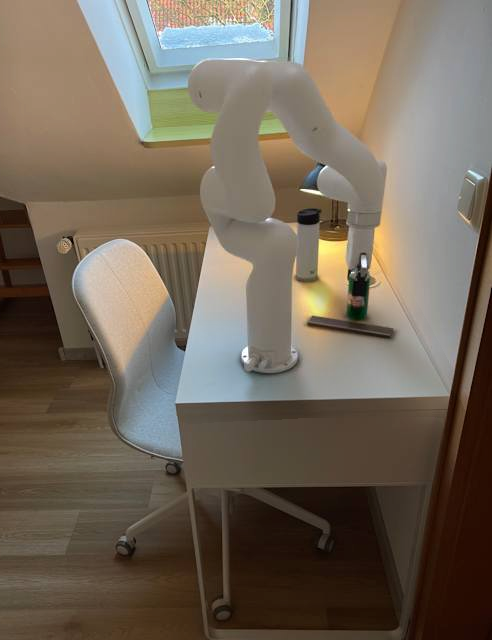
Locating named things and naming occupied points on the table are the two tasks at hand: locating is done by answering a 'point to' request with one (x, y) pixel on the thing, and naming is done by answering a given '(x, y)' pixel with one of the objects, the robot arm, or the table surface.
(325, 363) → the table surface
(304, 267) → the travel mug
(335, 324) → the ruler
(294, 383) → the table surface
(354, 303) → the soda can
